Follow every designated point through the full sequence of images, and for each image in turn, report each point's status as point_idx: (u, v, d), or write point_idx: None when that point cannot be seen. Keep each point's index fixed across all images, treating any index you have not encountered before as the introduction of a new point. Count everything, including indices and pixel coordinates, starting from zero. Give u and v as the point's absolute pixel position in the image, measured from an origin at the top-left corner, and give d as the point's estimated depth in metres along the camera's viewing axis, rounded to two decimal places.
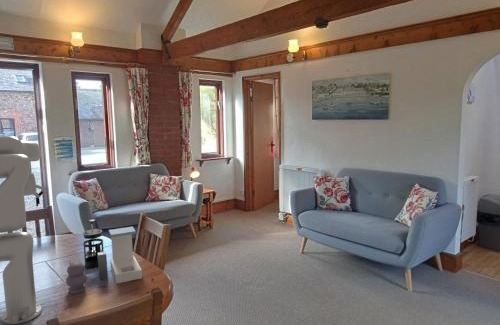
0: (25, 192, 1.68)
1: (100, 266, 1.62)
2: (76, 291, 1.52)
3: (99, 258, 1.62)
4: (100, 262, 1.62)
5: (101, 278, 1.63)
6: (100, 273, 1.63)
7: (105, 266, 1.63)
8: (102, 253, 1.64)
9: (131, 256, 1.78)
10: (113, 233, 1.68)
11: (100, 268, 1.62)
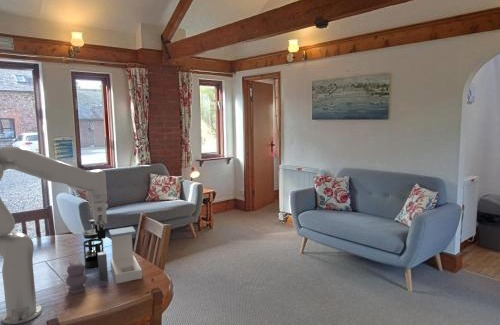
0: None
1: (100, 266, 1.62)
2: (76, 291, 1.52)
3: (99, 258, 1.62)
4: (100, 262, 1.62)
5: (101, 278, 1.63)
6: (100, 273, 1.63)
7: (105, 266, 1.63)
8: (102, 253, 1.64)
9: (131, 256, 1.78)
10: (113, 233, 1.68)
11: (100, 268, 1.62)
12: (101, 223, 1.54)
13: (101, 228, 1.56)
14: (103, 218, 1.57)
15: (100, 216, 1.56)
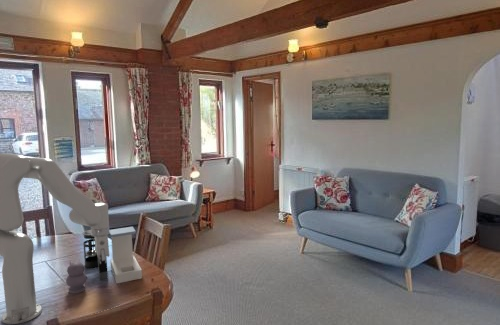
0: None
1: None
2: (76, 291, 1.52)
3: None
4: None
5: (101, 278, 1.63)
6: (100, 273, 1.63)
7: None
8: None
9: (131, 256, 1.78)
10: (113, 233, 1.68)
11: None
12: (103, 260, 1.58)
13: (103, 262, 1.60)
14: (105, 251, 1.59)
15: (102, 251, 1.59)
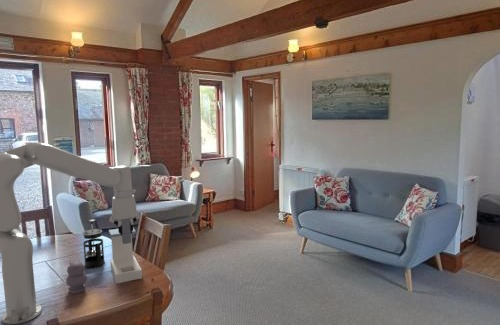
0: None
1: None
2: (76, 291, 1.52)
3: (129, 219, 1.62)
4: (129, 223, 1.63)
5: (130, 240, 1.64)
6: (130, 235, 1.63)
7: None
8: None
9: (131, 256, 1.78)
10: (113, 233, 1.68)
11: None
12: None
13: None
14: None
15: None
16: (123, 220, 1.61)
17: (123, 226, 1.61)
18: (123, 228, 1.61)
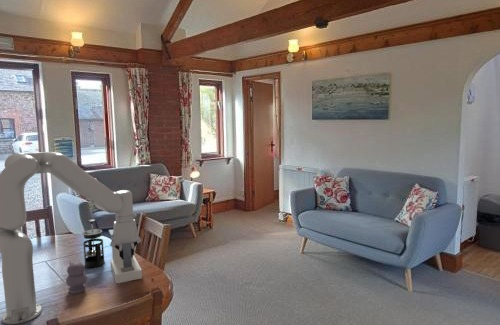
0: None
1: (130, 252, 1.65)
2: (76, 291, 1.52)
3: (130, 244, 1.64)
4: (130, 248, 1.64)
5: (131, 263, 1.65)
6: None
7: None
8: None
9: None
10: None
11: (130, 253, 1.65)
12: None
13: None
14: None
15: None
16: (124, 244, 1.62)
17: (124, 250, 1.62)
18: (124, 252, 1.63)
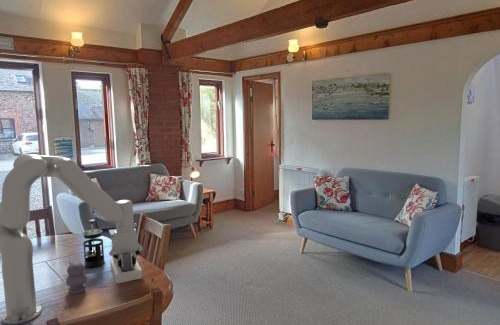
0: None
1: None
2: (76, 291, 1.52)
3: (130, 255, 1.64)
4: None
5: None
6: (131, 270, 1.65)
7: None
8: None
9: (131, 256, 1.78)
10: (113, 233, 1.68)
11: None
12: None
13: None
14: None
15: (137, 242, 1.66)
16: (124, 256, 1.63)
17: (124, 262, 1.63)
18: (124, 264, 1.63)
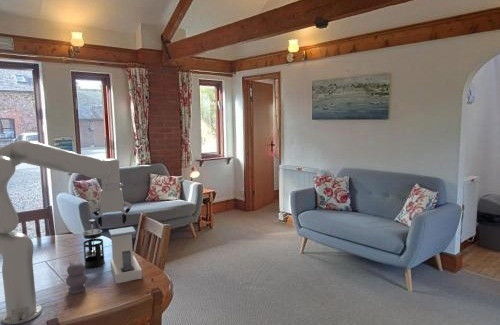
0: None
1: None
2: (76, 291, 1.52)
3: (130, 255, 1.64)
4: None
5: None
6: (131, 270, 1.65)
7: None
8: (125, 252, 1.65)
9: (131, 256, 1.78)
10: (113, 233, 1.68)
11: (131, 265, 1.65)
12: (131, 205, 1.66)
13: None
14: None
15: (124, 201, 1.65)
16: (124, 256, 1.63)
17: (124, 262, 1.63)
18: (124, 264, 1.63)
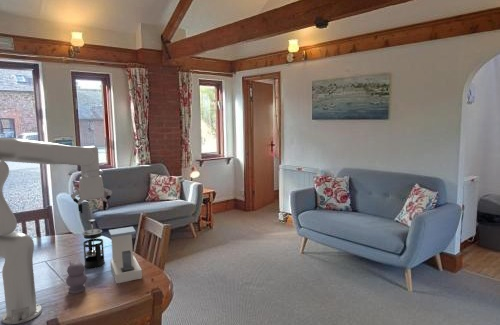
0: None
1: None
2: (76, 291, 1.52)
3: (130, 255, 1.64)
4: None
5: None
6: (131, 270, 1.65)
7: None
8: (125, 252, 1.65)
9: (131, 256, 1.78)
10: (113, 233, 1.68)
11: None
12: (111, 192, 1.68)
13: None
14: None
15: (104, 188, 1.67)
16: (124, 256, 1.63)
17: (124, 262, 1.63)
18: (124, 264, 1.63)
